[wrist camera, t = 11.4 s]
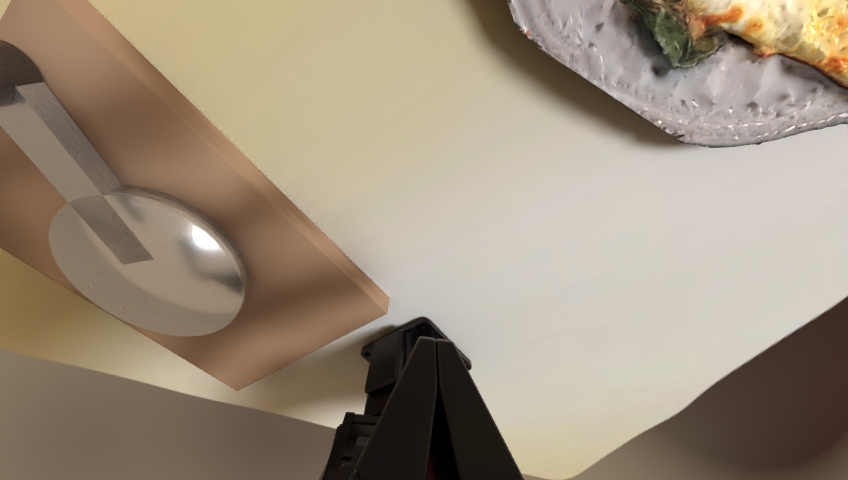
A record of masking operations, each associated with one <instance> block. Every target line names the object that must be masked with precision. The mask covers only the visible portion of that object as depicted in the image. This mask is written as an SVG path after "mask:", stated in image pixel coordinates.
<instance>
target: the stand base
mask: <svg viewBox="0 0 848 480" xmlns="http://www.w3.org/2000/svg"><path fill="white" fill-rule="evenodd" d="M0 40H4V41H6V42H8V43H11V44H12V45H14V46H16V47H17V48H19V49H20V50H21V51H23V52H24V53H25V54H26V55H27V56H28V57H29V58H30V59H31V60H32V61H33V62H34V64H35V65H36V67H37V68H38V70H39V71H40V73H41V75H42V78H43V81H44V83H45V84H46V86H47V87H48V88H49V90H50V91H51V92H52V94H53V95H54V96H55V98H56V99H57V100H58V101H59V103H60V104H61V105H62V107H63V108H64V109H65V111H66V112H67V113H68V115H69V116H70V117H71V119H72V120H73V121H74V123H75V124H76V125H77V126H78V128H79V129H80V130H81V132H82V133H83V134H84V136H85V137H86V138H87V140H88V141H89V142H90V144H91V145H92V146H93V148H94V149H95V150H96V152H97V153H98V154H99V155H100V157H101V158H102V159H103V161H104V162H105V163H106V165H107V166H108V167H109V169H110V170H111V171H112V173H113V174H114V175H115V177H116V178H117V179H118V181H119V182H120V183H121V184H122V185H130V186H139V187H144V188H149V189H153V190H157V191H160V192H163V193H166V194H169V195H171V196H173V197H176V198H178V199H181V200H183V201H184V202H186V203H188V204H190V205H192V206H194V207H195V208H197V209H198V210H200V211H201V212H203V213H205V214H206V215H207V216H209V217H210V218H211V219H212V220H214V221H215V222H216V223H217V224H218V225H219V226H221V227H222V228H223V229H224V230H225V231H226V232H227V233H228V235H229V236H230V237H231V238H232V239H233V240H234V242H235V243H236V244H237V246H238V247H239V249H240V250H241V252H242V254H243V256H244V257H245V259H246V262H247V265H248V267H249V271H250V276H251V287H250V293H249V296H248V298H247V300H246V302H245V303H244V305H243V306H242V308H241V309H240V311H239V312H238V314H237V315H236V317H235V318H234V319H233V320H232V322H231V323H230V324H228V325H227V326H225V327H224V328H222V329H220V330H218V331H216V332H213V333H210V334H206V335H200V336H174V335H167V334H161V333H157V332H153V331H149V330H146V329H143V328H140V327H137V326H135V325H132V324H130V323H127V322H125V321H123V320H121V319H119V318H117V317H116V318H117V319H119V320H120V321H122V322H124V323H125V324H127V325H129V326H130V327H132V328H134V329H135V330H137V331H139V332H140V333H142V334H144V335H145V336H147V337H149V338H150V339H152V340H154V341H155V342H157V343H158V344H160V345H162V346H163V347H165V348H167V349H168V350H170V351H172V352H173V353H175V354H177V355H178V356H180V357H182V358H183V359H185V360H187V361H188V362H190V363H192V364H193V365H195V366H196V367H198V368H200V369H201V370H203V371H205V372H206V373H208V374H210V375H211V376H213V377H215V378H216V379H218V380H220V381H221V382H223V383H225V384H226V385H228V386H230V387H231V388H233V389H234V390H236V391H238V390H240V389H241V388H243V387H245V386H247V385H249V384H251V383H253V382H255V381H257V380H259V379H261V378H263V377H265V376H267V375H269V374H271V373H273V372H274V371H276V370H278V369H280V368H282V367H284V366H286V365H288V364H290V363H292V362H294V361H296V360H298V359H300V358H302V357H304V356H305V355H307V354H309V353H311V352H313V351H315V350H317V349H319V348H321V347H323V346H325V345H327V344H329V343H331V342H333V341H335V340H337V339H338V338H340V337H342V336H344V335H346V334H348V333H350V332H352V331H354V330H356V329H358V328H360V327H362V326H364V325H366V324H368V323H370V322H371V321H373V320H375V319H377V318H379V317H381V316H383V315H385V314H387V310H388V304H389V297H388V296H387V295H386V294H385V293H384V292H383V291H382V290H381V289H380V288H379V287H378V286H377V285H376V284H375V283H374V282H373V281H372V280H371V279H370V278H369V277H368V276H367V275H366V274H365V273H364V272H363V271H362V270H361V269H359V268H358V267H357V266H356V265H355V264H354V263H353V262H352V261H351V260H350V259H349V258H348V257H347V256H346V255H345V254H344V253H343V252H342V251H341V250H340V249H339V248H338V247H337V246H336V245H335V244H334V243H333V242H332V241H331V240H330V239H329V238H328V237H327V236H326V235H325V234H324V233H323V232H322V231H321V230H320V229H319V228H318V227H317V226H316V225H315V224H314V223H313V222H312V221H311V220H310V219H309V218H308V217H307V216H306V215H305V214H304V213H303V212H301V211H300V210H299V209H298V208H297V207H296V206H295V205H294V204H293V203H292V202H291V201H290V200H289V199H288V198H287V197H286V196H285V195H284V194H283V193H282V192H281V191H280V190H279V189H278V188H277V187H276V186H275V185H274V184H273V183H272V182H271V181H270V180H269V179H268V178H267V177H266V176H265V175H264V174H263V173H262V172H261V171H260V170H259V169H258V168H257V167H256V166H255V165H254V164H253V163H252V162H251V161H250V160H249V159H248V158H247V157H246V156H244V155H243V154H242V153H241V152H240V151H239V150H238V149H237V148H236V147H235V146H234V145H233V144H232V143H231V142H230V141H229V140H228V139H227V138H226V137H225V136H224V135H223V134H222V133H221V132H220V131H219V130H218V129H217V128H216V127H215V126H214V125H213V124H212V123H211V122H210V121H209V120H208V119H207V118H206V117H205V116H204V115H203V114H202V113H201V112H200V111H199V110H198V109H197V108H196V107H195V106H194V105H193V104H192V103H191V102H190V101H189V100H188V99H186V98H185V97H184V96H183V95H182V94H181V93H180V92H179V91H178V90H177V89H176V88H175V87H174V86H173V85H172V84H171V83H170V82H169V81H168V80H167V79H166V78H165V77H164V76H163V75H162V74H161V73H160V72H159V71H158V70H157V69H156V68H155V67H154V66H153V65H152V64H151V63H150V62H149V61H148V60H147V59H146V58H145V57H144V56H143V55H142V54H141V53H140V52H139V51H138V50H137V49H136V48H135V47H134V46H133V45H132V44H131V43H130V42H128V41H127V40H126V39H125V38H124V37H123V36H122V35H121V34H120V33H119V32H118V31H117V30H116V29H115V28H114V27H113V26H112V25H111V24H110V23H109V22H108V21H107V20H106V19H105V18H104V17H103V16H102V15H101V14H100V13H99V12H98V11H97V10H96V9H95V8H94V7H93V6H92V5H91V4H90V3H89V2H88V1H87V0H11V2H10V4H9V6H8V8H7V9H6V11H5V13H4V15H3V17H2V18H1V20H0ZM66 204H68V202H67V201H66V199H65V198H64V197H63V196H62V195H61V194H60V193H59V192H58V190H57V189H56V188H55V187H54V186H53V185H52V184H51V182H50V181H49V180H48V179H47V178H46V177H45V176H44V174H43V173H42V172H41V171H40V170H39V169H38V168H37V166H36V165H35V164H34V163H33V162H32V161H31V160H30V159H29V157H28V156H27V155H26V154H25V153H24V152H23V151H22V149H21V148H20V147H19V146H18V145H17V144H16V143H15V141H14V140H13V139H12V138H11V137H10V136H9V135H8V133H7V132H6V131H5V130H4V129H3V128H2V127H1V126H0V248H2V249H3V250H5V251H6V252H8V253H10V254H11V255H13V256H15V257H16V258H18V259H20V260H21V261H23V262H25V263H26V264H28V265H30V266H31V267H33V268H35V269H36V270H38V271H40V272H41V273H43V274H44V275H46V276H48V277H49V278H51V279H53V280H54V281H56V282H58V283H59V284H61V285H63V286H64V287H66V288H68V289H69V290H71V291H73V292H74V293H76V294H78V295H79V296H81V297H82V298H84V299H86V300H87V301H89V302H91V303H92V304H94V303H93V302H92V301H90V300H89V299H88V298H87V297H85V296H84V295H83V294H82V293H81V292H80V291H79V290H78V289H76V288H75V286H74V285H73V284H72V283H71V282H70V281H69V280H68V279H67V277H66V276H65V275H64V274H63V272H62V271H61V269H60V268H59V266H58V264H57V263H56V261H55V259H54V256H53V254H52V251H51V248H50V244H49V235H48V234H49V226H50V223H51V221H52V218H53V217H54V215H55V214H56V213H57V211H58V210H59V209H61V208H62V207H63V206H64V205H66ZM94 305H96V304H94ZM96 306H97V305H96ZM97 307H99V306H97ZM99 308H100V307H99ZM101 309H102V308H101ZM102 310H103V309H102ZM104 311H105V310H104ZM107 313H108V312H107ZM109 314H110V313H109ZM111 315H112V314H111ZM112 316H113V315H112ZM114 317H115V316H114Z"/></svg>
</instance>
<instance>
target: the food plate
mask: <svg viewBox="0 0 848 480" xmlns="http://www.w3.org/2000/svg"><path fill="white" fill-rule="evenodd" d="M506 1H507V2H508V4H509V8H510V10H511V14H512V16H513V20H514V22H515V24H516V26H517V27H520V29H519V30H521V32H522V33H524V34H526V35H528V38H529V40H530V38H531V40H533V39H535V40H534V41H535V42H537V43H538V45H539V46H542V49H543V50H542V49H541V48H540V47H538V46H537V47H538V48H539V49H540V50H542V51H543V52H544V53H546V54H548V53H549V54H548V55H549V56H551V57H552V58H553V59H555V60H557V61H558V62H560V61H561V62H560V63H561V64H563V63H564V64H563V65H565V66H567V67H568V68H569V69H571V70H572V71H573V72H575V73H577V74H579V75H580V76H582V77H583V78H585V79H587V80H588V81H589V82H590V83H591V84H593V85H594V86H596V87H598V88H599V89H601V90H603V91H604V92H605V93H607V94H608V95H610V96H611V97H613V98H615V99H617V100H618V101H620V102H621V103H623V104H624V105H626V106H627V107H629V108H630V109H632V110H633V111H635V112H636V113H638V114H639V115H641V116H642V117H644V118H645V119H647V120H648V121H650V122H651V123H653V124H654V125H656V126H657V127H659V126H660V127H661V128H660V127H659V128H660V129H662V128H664V129H665V130H663V129H662V130H663V131H665V132H666V133H668V134H669V135H671V134H672V133H674V134H673V136H677V135H679V134H680V137H679V139H677V140H678V141H680V142H685V143H690V144H693V143H694V145H696V144H698V145H700V146H704V147H705V146H708V147H709V148H710V147H711V148H720V147H735V146H743V145H750V144H757V145H758V144H761V143H763V142H767V141H772V140H777V139H781V138H785V137H788V136H792V135H796V134H799V133H803V132H806V131H810V130H817V129H823V128H825V127H831V126H836V125H839V124H848V0H506ZM519 34H520V33H519ZM521 36H523V35H521ZM523 37H524V36H523ZM526 39H527V38H526ZM530 42H531V41H530ZM531 43H532V42H531ZM533 44H534V43H533ZM534 45H535V44H534ZM535 46H536V45H535ZM545 48H546V49H545ZM550 54H551V55H550ZM671 136H672V135H671ZM673 136H672V137H673ZM675 139H676V138H675Z"/></svg>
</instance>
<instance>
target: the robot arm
mask: <svg viewBox="0 0 848 480" xmlns="http://www.w3.org/2000/svg"><path fill="white" fill-rule="evenodd" d="M361 356H362V357H363V358H365V359H366V360H367V361H368V362H369V363H370V365H369V370H368V376H367V381H366V386H365V393H366V394H367V400H366V405H365V411H364V415H360V414H355V413H354V412H346V414H345V417H344V420H343V423H342V424H340V426H339V427H337V430H336V434H335V439H334V442H333V446H332V450H331V453H330V456H329V459H328V461H327V463H326V465H325V467H324V470H323V472H322V474H321V476H320V479H319V480H524V478H523V476H522V474H521V472H520V470H519V468H518V466H517V464H516V462H515V460H514V459H513V457H512V455H511V453H510V451H509V449H508V447H507V445H506V443H505V441H504V439H503V437H502V435H501V433H500V431H499V430H498V428H497V426H496V424H495V422H494V420H493V418H492V416H491V414H490V412H489V410H488V408H487V406H486V404H485V402H484V400H483V399H482V397H481V395H480V393H479V391H478V389H477V387H476V385H475V383H474V381H473V379H472V377H471V375H470V373H469V370H470V369H471V361H470V360H469V359H468V358H467V357H466V356H465V355H464V354H463V353H462V352H461V351H460V350H459V349H458V348H457V347H456V346H455V344H454V343H453V342H452V341H450V340H449V339H448V338H447V337H446V336H445V335H444V333H443V332H442V331H441V330H440V329H439V328H438V327H437V326H436V325H435V324H434V323H433V322H432V321H431V320H429V319H427V318H422V319H420V320H418V321H416V322H414V323H412V324H410V325H407V326H405V327H403V328H401V329H399V330H397V331H395V332H393V333H391V334H389V335H387V336H385V337H383V338H381V339H379V340H377V341H375V342H373V343H370V344H368V345H366V346H364V347H363V348H362V351H361Z"/></svg>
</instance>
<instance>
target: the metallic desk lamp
mask: <svg viewBox="0 0 848 480" xmlns="http://www.w3.org/2000/svg"><path fill="white" fill-rule="evenodd" d="M0 126H1V127H2V128H3V129H4V130H5V131H6V132H7V133H8V135H9V136H10V137H11V138H12V139H13V140H14V141H15V143H16V144H17V145H18V146H19V147H20V148H21V149H22V151H23V152H24V153H25V154H26V155H27V156H28V157H29V159H30V160H31V161H32V162H33V163H34V164H35V165H36V166H37V168H38V169H39V170H40V171H41V172H42V173H43V174H44V176H45V177H46V178H47V179H48V180H49V181H50V182H51V184H52V185H53V186H54V187H55V188H56V189H57V190H58V192H59V193H60V194H61V195H62V196H63V197H64V198H65V199H66V201H67V202H68V204H66V205H64V206H63V207H62V208H61V209H59V210H58V211H57V213H56V214H55V215H54V217H53V218H52V221H51V223H50V226H49V234H48V235H49V244H50V248H51V251H52V254H53V256H54V259H55V261H56V263H57V264H58V266H59V268H60V269H61V271H62V272H63V274H64V275H65V276H66V277H67V279H68V280H69V281H70V282H71V283H72V284H73V285H74V286H75V288H76V289H78V290H79V291H80V292H81V293H82V294H83V295H84V296H85V297H87V298H88V299H89V300H90V301H92V302H93V303H94V304H96V305H97V306H99V307H100V308H102V309H103V310H105V311H106V312H108V313H110V314H112V315H113V316H115V317H117V318H119V319H121V320H123V321H125V322H127V323H130V324H132V325H135V326H137V327H140V328H143V329H146V330H149V331H153V332H157V333H161V334H167V335H174V336H200V335H206V334H210V333H213V332H216V331H218V330H220V329H222V328H224V327H225V326H227V325H228V324H230V323H231V322H232V320H233V319H234V318H235V317H236V315H237V314H238V312H239V311H240V309H241V308H242V306H243V305H244V303H245V302H246V300H247V298H248V296H249V293H250V287H251V276H250V271H249V267H248V265H247V262H246V259H245V257H244V256H243V254H242V252H241V250H240V249H239V247H238V246H237V244H236V243H235V242H234V240H233V239H232V238H231V237H230V236H229V235H228V233H227V232H226V231H225V230H224V229H223V228H222V227H221V226H219V225H218V224H217V223H216V222H215V221H214V220H212V219H211V218H210V217H209V216H207V215H206V214H205V213H203V212H201V211H200V210H198V209H197V208H195V207H194V206H192V205H190V204H188V203H186V202H184V201H183V200H181V199H178V198H176V197H173V196H171V195H169V194H166V193H163V192H160V191H157V190H153V189H149V188H144V187H139V186H130V185H122V184H121V183H120V182H119V181H118V179H117V178H116V177H115V175H114V174H113V173H112V171H111V170H110V169H109V167H108V166H107V165H106V163H105V162H104V161H103V159H102V158H101V157H100V155H99V154H98V153H97V152H96V150H95V149H94V148H93V146H92V145H91V144H90V142H89V141H88V140H87V138H86V137H85V136H84V134H83V133H82V132H81V130H80V129H79V128H78V126H77V125H76V124H75V123H74V121H73V120H72V119H71V117H70V116H69V115H68V113H67V112H66V111H65V109H64V108H63V107H62V105H61V104H60V103H59V101H58V100H57V99H56V98H55V96H54V95H53V94H52V92H51V91H50V90H49V88H48V87H47V86H46V84H45V83H44V81H43V78H42V75H41V73H40V71H39V70H38V68H37V67H36V65H35V64H34V62H33V61H32V60H31V59H30V58H29V57H28V56H27V55H26V54H25V53H24V52H23V51H21V50H20V49H19V48H17V47H16V46H14V45H12V44H11V43H8V42H6V41H4V40H0Z"/></svg>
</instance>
